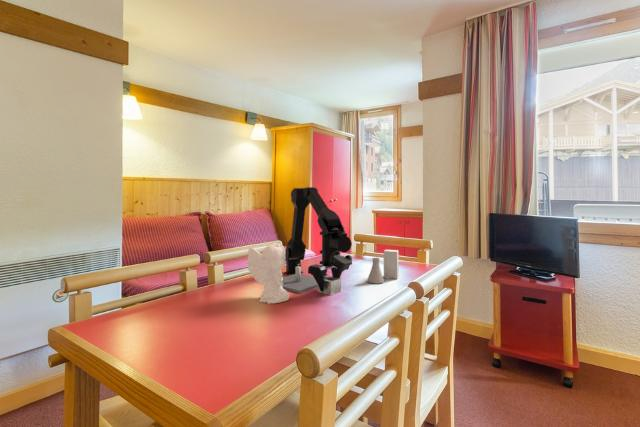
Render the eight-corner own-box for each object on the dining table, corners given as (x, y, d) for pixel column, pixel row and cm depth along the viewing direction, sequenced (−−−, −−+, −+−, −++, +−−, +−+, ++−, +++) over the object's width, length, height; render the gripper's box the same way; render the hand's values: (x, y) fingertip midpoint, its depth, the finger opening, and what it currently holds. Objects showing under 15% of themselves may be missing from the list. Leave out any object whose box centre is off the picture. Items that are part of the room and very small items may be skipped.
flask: (383, 279, 144) (384, 256, 143) (385, 284, 137) (385, 260, 136) (366, 279, 145) (367, 256, 144) (367, 283, 138) (367, 259, 137)
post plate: (266, 284, 136) (266, 267, 135) (296, 275, 150) (296, 260, 149) (299, 293, 125) (299, 275, 124) (328, 282, 139) (329, 266, 138)
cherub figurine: (264, 307, 110) (264, 247, 108) (246, 298, 119) (245, 242, 118) (296, 299, 119) (296, 243, 117) (277, 290, 128) (276, 239, 126)
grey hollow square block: (317, 291, 127) (317, 278, 127) (327, 287, 132) (327, 275, 132) (330, 295, 123) (331, 281, 123) (341, 291, 128) (341, 278, 128)
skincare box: (398, 277, 148) (399, 250, 147) (397, 279, 144) (397, 251, 143) (384, 275, 151) (385, 248, 150) (382, 278, 147) (383, 250, 146)
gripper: (331, 254, 114) (331, 299, 115) (361, 247, 128) (360, 286, 130) (307, 250, 121) (307, 292, 122) (337, 243, 135) (337, 281, 137)
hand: (329, 288), depth 127 cm, fingers open, 8 cm apart
